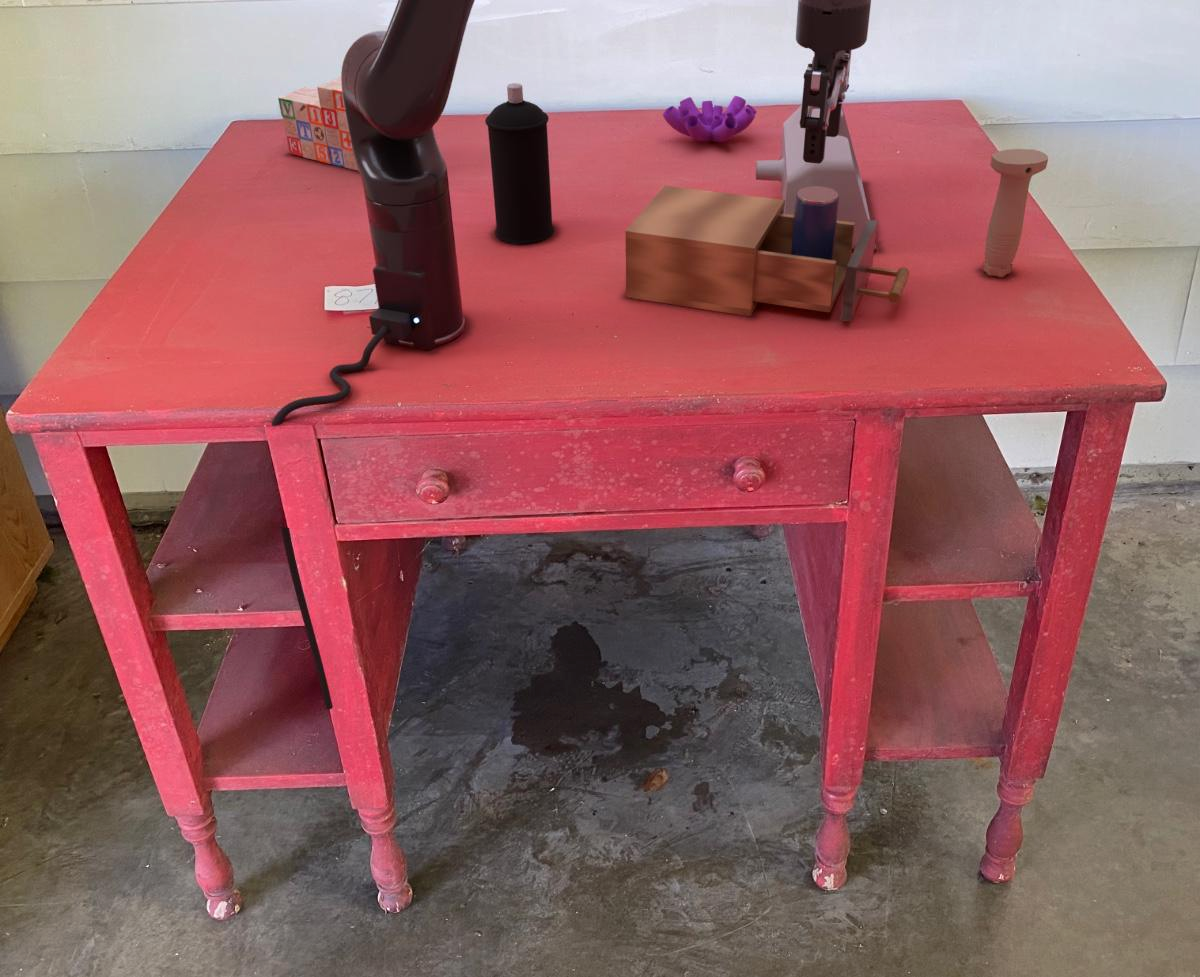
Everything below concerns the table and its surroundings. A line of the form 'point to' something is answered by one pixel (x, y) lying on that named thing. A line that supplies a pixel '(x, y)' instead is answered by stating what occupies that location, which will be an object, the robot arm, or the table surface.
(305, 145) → the stack of blocks
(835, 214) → the can
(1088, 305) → the table surface
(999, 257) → the handle
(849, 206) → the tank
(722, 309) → the cabinet
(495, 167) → the aerosol can
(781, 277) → the drawer
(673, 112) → the pipe connector assembly
